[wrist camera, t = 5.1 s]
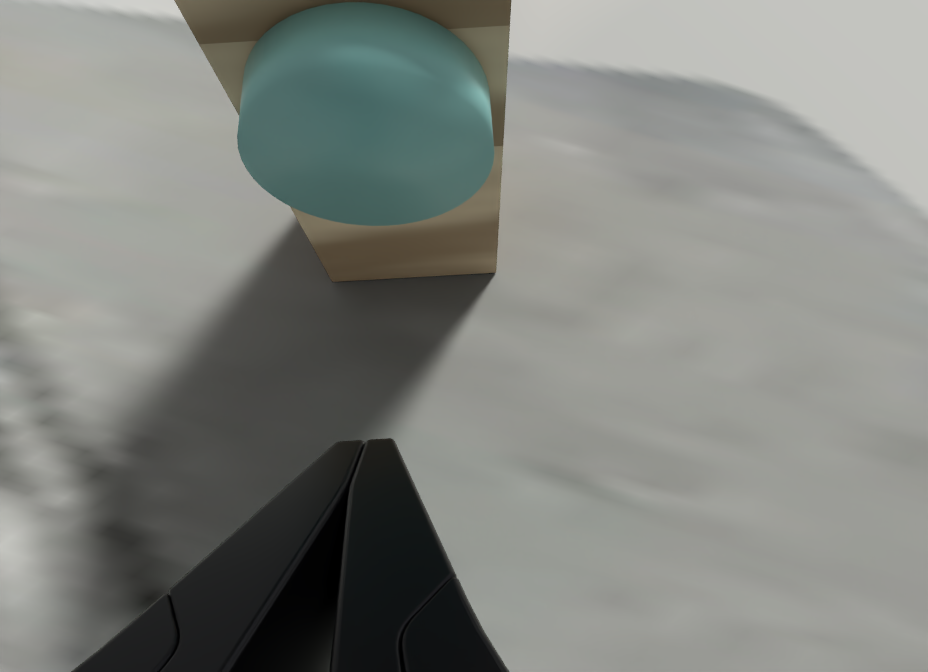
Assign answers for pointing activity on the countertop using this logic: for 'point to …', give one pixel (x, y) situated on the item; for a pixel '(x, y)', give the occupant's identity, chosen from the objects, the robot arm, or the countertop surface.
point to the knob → (365, 115)
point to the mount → (395, 246)
